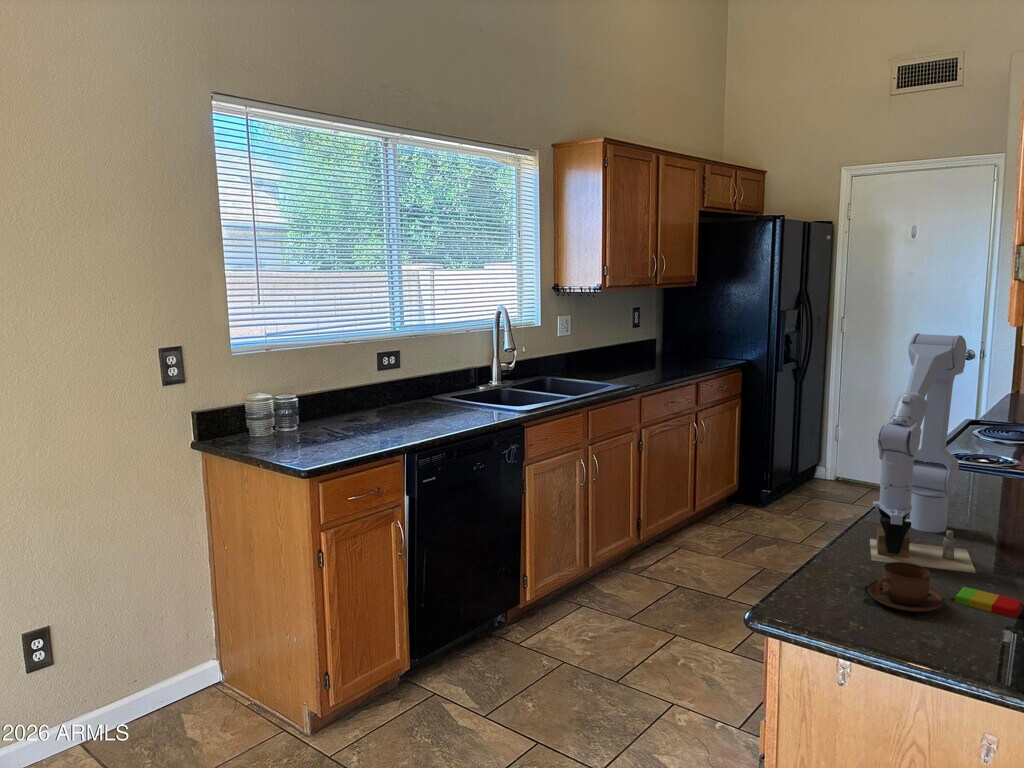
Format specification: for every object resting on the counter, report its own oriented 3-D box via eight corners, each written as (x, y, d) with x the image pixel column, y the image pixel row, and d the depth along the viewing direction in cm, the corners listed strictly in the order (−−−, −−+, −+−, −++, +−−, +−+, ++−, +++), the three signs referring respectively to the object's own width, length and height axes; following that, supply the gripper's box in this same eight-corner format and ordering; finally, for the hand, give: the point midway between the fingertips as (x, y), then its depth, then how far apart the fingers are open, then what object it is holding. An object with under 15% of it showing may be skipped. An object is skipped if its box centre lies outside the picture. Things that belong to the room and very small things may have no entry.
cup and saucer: (922, 625, 127) (924, 589, 126) (853, 600, 136) (855, 567, 136) (956, 605, 134) (958, 572, 133) (888, 583, 143) (890, 552, 142)
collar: (876, 545, 160) (877, 526, 159) (906, 548, 157) (907, 529, 157) (877, 554, 155) (878, 535, 154) (908, 558, 152) (909, 538, 152)
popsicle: (1016, 621, 128) (1017, 610, 128) (918, 596, 138) (919, 586, 138) (1022, 610, 132) (1023, 600, 132) (927, 587, 142) (928, 577, 142)
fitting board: (869, 543, 164) (871, 513, 163) (966, 554, 156) (968, 523, 156) (871, 564, 152) (872, 533, 151) (975, 577, 145) (978, 545, 144)
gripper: (873, 472, 162) (869, 533, 164) (875, 491, 149) (871, 557, 151) (910, 475, 159) (906, 537, 161) (916, 494, 146) (911, 562, 148)
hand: (892, 547), depth 156 cm, fingers closed on collar, 6 cm apart
